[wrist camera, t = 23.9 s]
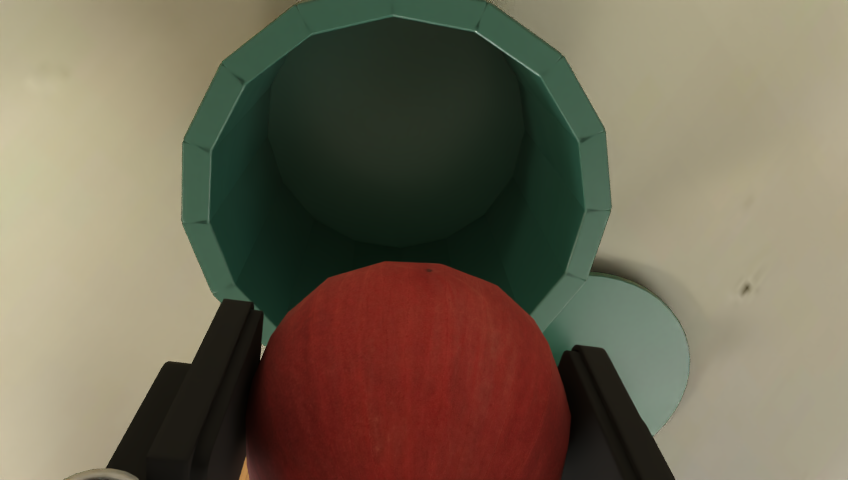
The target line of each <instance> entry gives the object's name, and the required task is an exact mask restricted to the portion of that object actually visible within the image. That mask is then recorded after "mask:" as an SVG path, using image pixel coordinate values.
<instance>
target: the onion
mask: <svg viewBox="0 0 848 480" xmlns="http://www.w3.org/2000/svg"><path fill="white" fill-rule="evenodd" d="M245 425H246V459H247V469H248V474H249V480H561V478H562V473H563V468H564V464H565V459H566V454H567V450H568V444H569V434H570V425H571V413H570V409H569V405H568V401H567V396H566V392H565V388H564V385H563V382H562V379H561V377H560V374H559V371H558V368H557V366H556V363H555V360H554V357H553V355H552V352H551V349H550V346H549V344H548V342H547V340H546V338H545V337H544V335H543V333H542V332H541V330H540V329H539V327H538V325H537V324H536V322H535V320H534V319H533V318H532V317H531V316H530V315H529V314H528V313H527V312H526V311H524V310H523V309H522V308H521V307H520V306H519V305H518V304H517V303H516V302H515V301H514V300H513V299H512V298H510V297H509V296H508V295H507V294H506V293H505V292H504V291H503V290H502V289H501V288H500V287H499V286H497V285H495V284H492V283H490V282H487V281H485V280H483V279H480V278H477V277H474V276H472V275H469V274H466V273H464V272H461V271H459V270H456V269H454V268H451V267H448V266H446V265H443V264H437V263H414V262H392V261H384V262H380V263H377V264H374V265H370V266H367V267H363V268H360V269H356V270H353V271H349V272H346V273H343V274H339V275H336V276H332V277H329V278H327V279H326V280H325V281H324V282H323V283H322V284H320V285H319V286H318V287H317V288H316V289H315V290H313V291H312V292H311V293H310V294H309V295H308V296H307V297H305V298H304V299H303V300H302V301H301V302H300V303H298V304H297V305H296V306H295V307H294V308H293V309H291V310H290V311H289V312H288V313H287V314H286V316H285V317H284V318H283V320H282V321H281V322H280V324H279V325H278V327H277V328H276V329H275V331H274V332H273V334H272V335H271V336H270V339H269V341H268V343H267V346H266V348H265V351H264V353H263V356H262V358H261V360H260V363H259V365H258V368H257V370H256V373H255V375H254V377H253V380H252V384H251V388H250V392H249V396H248V403H247V409H246V416H245Z"/></svg>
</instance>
